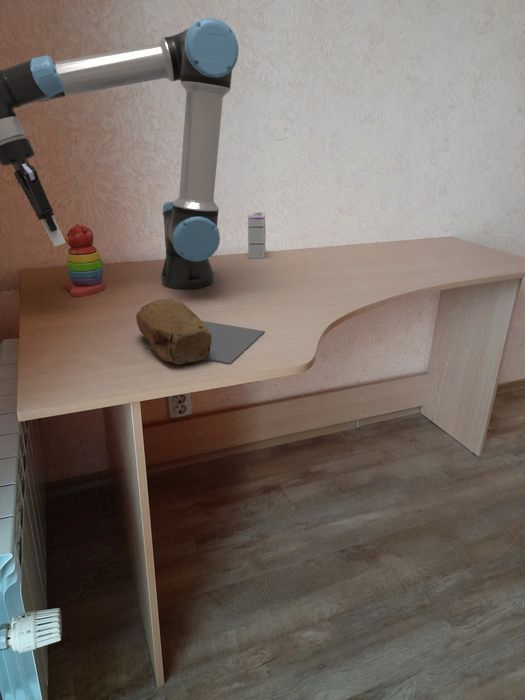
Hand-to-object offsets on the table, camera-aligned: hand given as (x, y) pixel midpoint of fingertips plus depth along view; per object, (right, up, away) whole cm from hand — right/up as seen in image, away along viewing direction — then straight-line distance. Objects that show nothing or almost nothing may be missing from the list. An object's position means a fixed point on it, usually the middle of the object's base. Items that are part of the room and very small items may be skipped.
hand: (60, 244), depth 124 cm
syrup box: (+45, +7, +58) cm, 75 cm away
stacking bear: (-2, -8, +24) cm, 25 cm away
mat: (+35, -23, -8) cm, 43 cm away
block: (+24, -17, -6) cm, 30 cm away
